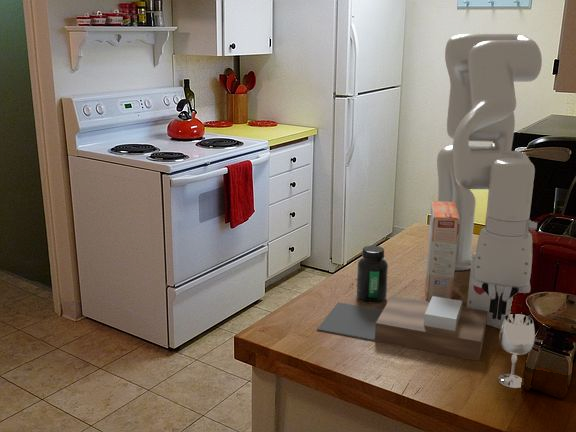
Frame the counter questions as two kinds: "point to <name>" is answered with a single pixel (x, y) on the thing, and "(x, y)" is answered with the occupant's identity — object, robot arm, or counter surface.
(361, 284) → the supplement bottle
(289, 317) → the counter surface
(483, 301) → the supplement box
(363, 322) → the mat
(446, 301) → the tile
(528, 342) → the wineglass
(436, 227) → the cracker box
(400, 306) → the brown wooden block
